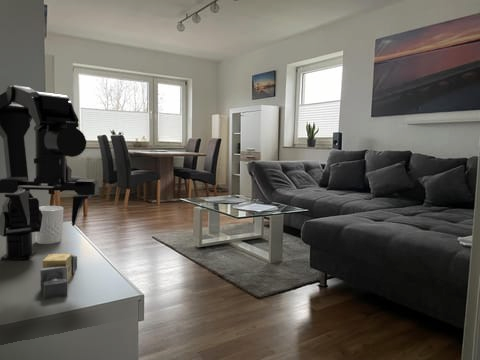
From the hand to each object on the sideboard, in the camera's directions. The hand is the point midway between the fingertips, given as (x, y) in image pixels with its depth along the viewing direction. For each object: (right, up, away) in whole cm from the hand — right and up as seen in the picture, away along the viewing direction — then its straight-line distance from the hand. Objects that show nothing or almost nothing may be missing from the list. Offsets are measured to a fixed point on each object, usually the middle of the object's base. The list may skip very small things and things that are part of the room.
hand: (50, 225), depth 79 cm
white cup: (-16, -9, +29) cm, 34 cm away
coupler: (+2, -12, 0) cm, 12 cm away
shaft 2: (0, -11, +5) cm, 13 cm away
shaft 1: (+4, -13, -6) cm, 15 cm away
